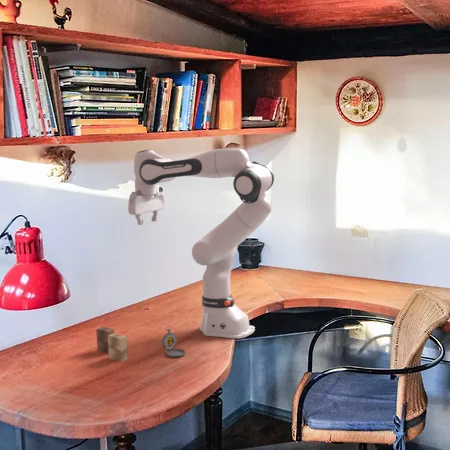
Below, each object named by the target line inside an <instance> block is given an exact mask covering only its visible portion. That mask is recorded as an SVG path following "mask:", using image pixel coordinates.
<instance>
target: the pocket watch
mask: <svg viewBox="0 0 450 450" xmlns="http://www.w3.org/2000/svg"><path fill="white" fill-rule="evenodd" d="M171 330H172V326H170V325H168V326H166V328H165V331H167V333H165V334H164V336H163V337H162V340H161V346H162V349H164V350H165V351H167V352H166V355H167V356H168V357H171V358H179V357H180V358H181V357H183V356H185V354H186V351H185V349H182V348H175V347H176V345H177V341H178V340H177V335H176V333H174V332H173V331H171Z"/></svg>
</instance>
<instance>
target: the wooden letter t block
mask: <svg viewBox="0 0 450 450" xmlns="http://www.w3.org/2000/svg"><path fill="white" fill-rule="evenodd" d="M127 340H128V339H127V335H123V334H117V333H114V334H111V335H109V336H108V348H109V353H108V359H110V360H112V361H113V360H114V361H118V362H123V361H124V362H125V360H128V347H127V346H128V345H127V343H128V342H127Z"/></svg>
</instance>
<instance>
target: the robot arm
mask: <svg viewBox="0 0 450 450" xmlns="http://www.w3.org/2000/svg"><path fill="white" fill-rule="evenodd" d="M133 172H134V176H135V179H134V189H135V190H134V191H132V192H131V193H130V194H129V199H128V206H127V209H128V210H127V211H128V214H129V215H130V216H131V215H132V216H134V217H135V219H136V220H137V225H138V226H141V225H144V220H143V219H142V214H146V213H151V212H152V216H151V222H154V223H155V222H157V221H158V216H159V212H160V211H161V210H164V208H165V204H166V203H165V194H164V192H165V187H164V186H161V185H159V184H160V183H167V182H170V181H172V180H174V179H176V178H178V177H179V178H180V177H198V178H209V179H223V178H229V177H230V178H234V179H233V181H232V185H233V189H234V191H235V192H236V194H237V195H238V196H239V199H240V200H241V202H242V203H241V204H239V205H238V206H237V207H236V209H235V210H234V211H232V212H231V213H230V214H229V215H228V216H227V217H226V218H225V219H224V220H223V221H222V222H221V223H220V224H218V225H216V226H215V227H214V228H213V229H212V230H210V231H209V232H208V233H206V235H204V236H203V237H202V238H201V239H200V240H198V241H197V242H196V243H194V245H193V246H192V248H191V255H192V258H193V260H194V261H195V263H197V264H198V265H200V266H206V269H205V271H204V274H203V275H202V296H201V305H202V317H201V324H200V327H199V330H200V331H201V332H202V335H203V336H208V337H217V338H219V337H220V338H225V339H227V338H228V339H243V338H246V337H248V336H250V335H252V334H254V332H255V331H256V329H255V328H256V327H255V326H254V325H250V320H249V317H248V315H247V314H246V313H245V312H244V311H243V310H242V309H240V307H239V306H237V305H236V303H235V301H236V300H237V297H236V296H235V297H233V296H232V294H231V272H232V269H233V268H232V267H233V263H234V257H235V254H236V253H237V251H238V248H239V245H240V244H241V243H243V242H245V240H246V239H247V238H248V237H250V235H252V234H253V233H254V232H255V231H256V230H257V229H258V228H259V227H260V226H261V225H262V224H263V223H264V222H265V220H266V219H267V218H268V217H269V215H270V213H271V212H272V203H271V202H270V200H269V199H268V198H267V195H266V192H267V191H269V190H270V189H271V187H272V186H273V185H274V182H275V175H274V172H273V170H272V169H271V168H270V167H268V166H266V165H264V164H261V163H259V162H257V161H251V162H250V156H249V155H248V153H247V151H246V150H245V149H243V148H237V147H236V148H234V147H233V148H232V147H231V148H230V147H229V148H227V147H226V148H217V149H212V150H207V151H205V152H203V153H200V154H196V155H194V156H191V157H187V158H184V159H179V160H173V159H171V158H168V157H166V156H163V155H160V154H158V153H157V152H155V151H154V150H153V149H144V150H140V151H137V152H136V153H135V154H134V159H133Z"/></svg>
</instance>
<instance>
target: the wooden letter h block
mask: <svg viewBox="0 0 450 450" xmlns="http://www.w3.org/2000/svg"><path fill="white" fill-rule="evenodd" d="M95 330H96V332H95V333H96V346H97V347H96V348H97V352H100V353H105V354H109V348H108V336H109V335H111V334H115V328H110V327H106V326H100V327H97V328H96V329H95Z"/></svg>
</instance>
